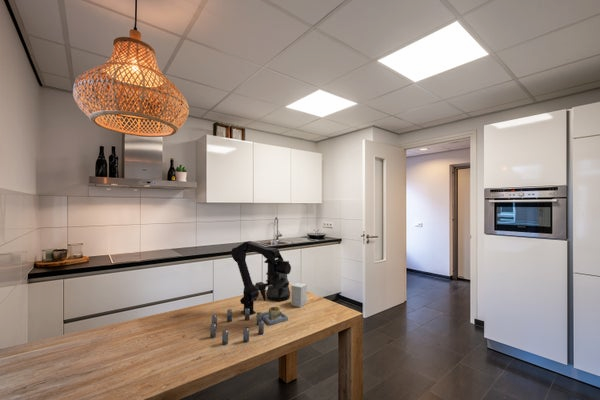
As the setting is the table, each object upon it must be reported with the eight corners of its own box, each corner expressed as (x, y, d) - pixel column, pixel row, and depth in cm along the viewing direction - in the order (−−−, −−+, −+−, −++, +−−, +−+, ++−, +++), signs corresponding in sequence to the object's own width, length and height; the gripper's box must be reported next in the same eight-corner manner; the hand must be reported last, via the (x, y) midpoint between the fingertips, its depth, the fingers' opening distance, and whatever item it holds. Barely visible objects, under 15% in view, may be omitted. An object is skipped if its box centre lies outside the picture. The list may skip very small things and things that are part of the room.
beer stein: (282, 303, 170) (282, 264, 170) (257, 298, 179) (258, 261, 179) (294, 295, 184) (295, 259, 184) (271, 290, 194) (272, 256, 194)
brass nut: (267, 316, 149) (267, 307, 149) (275, 314, 152) (275, 306, 152) (272, 321, 144) (272, 311, 144) (280, 318, 147) (280, 309, 147)
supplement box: (306, 304, 170) (307, 284, 170) (300, 307, 164) (301, 287, 164) (297, 301, 174) (297, 282, 174) (290, 305, 168) (291, 285, 168)
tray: (260, 317, 150) (260, 313, 150) (278, 313, 156) (278, 309, 156) (269, 325, 140) (269, 321, 140) (287, 320, 147) (287, 316, 147)
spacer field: (203, 326, 138) (203, 314, 138) (251, 314, 153) (251, 304, 153) (218, 350, 116) (218, 337, 116) (272, 334, 131) (272, 322, 131)
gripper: (263, 277, 136) (263, 308, 136) (294, 272, 146) (293, 301, 146) (254, 272, 145) (254, 300, 145) (284, 268, 156) (283, 294, 156)
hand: (272, 299), depth 148 cm, fingers open, 9 cm apart
